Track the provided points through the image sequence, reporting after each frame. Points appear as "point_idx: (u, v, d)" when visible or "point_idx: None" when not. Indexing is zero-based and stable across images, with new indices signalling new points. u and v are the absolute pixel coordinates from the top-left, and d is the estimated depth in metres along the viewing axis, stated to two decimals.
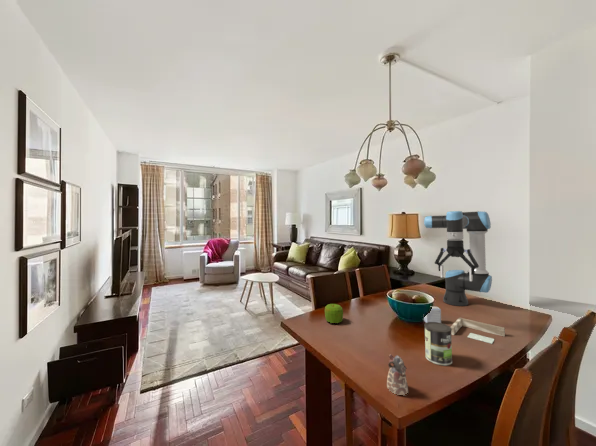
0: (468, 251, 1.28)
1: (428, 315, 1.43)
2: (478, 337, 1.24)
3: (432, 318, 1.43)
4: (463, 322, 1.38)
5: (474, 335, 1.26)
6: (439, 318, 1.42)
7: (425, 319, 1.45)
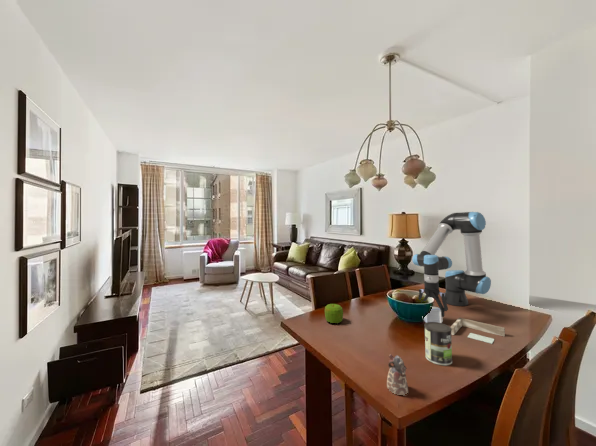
0: (442, 295, 1.40)
1: (428, 315, 1.43)
2: (478, 337, 1.24)
3: (432, 318, 1.43)
4: (463, 322, 1.38)
5: (474, 335, 1.26)
6: (439, 318, 1.42)
7: (425, 319, 1.45)
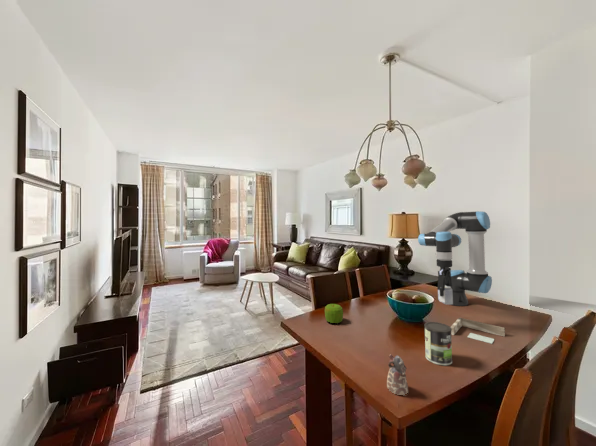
0: None
1: (438, 292, 1.41)
2: (478, 337, 1.24)
3: None
4: (463, 322, 1.38)
5: (474, 335, 1.26)
6: None
7: None
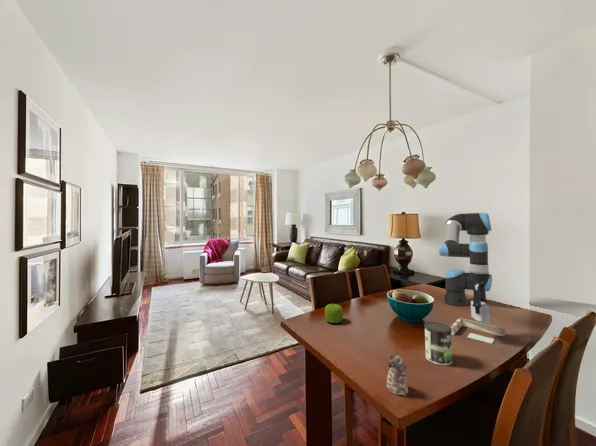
0: None
1: (471, 308, 1.27)
2: (478, 337, 1.24)
3: None
4: (463, 322, 1.38)
5: (474, 335, 1.26)
6: None
7: None
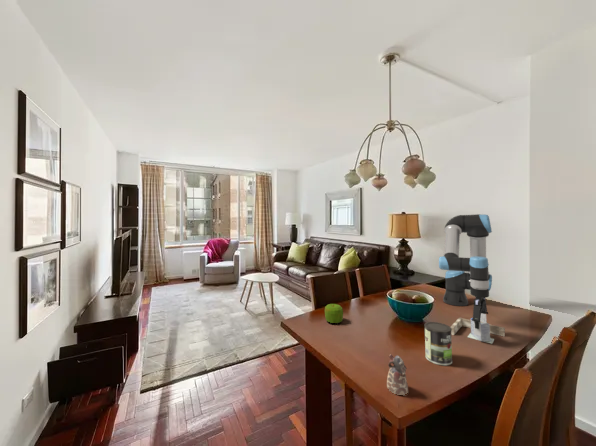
0: None
1: (471, 325, 1.27)
2: None
3: None
4: (463, 322, 1.38)
5: None
6: None
7: None
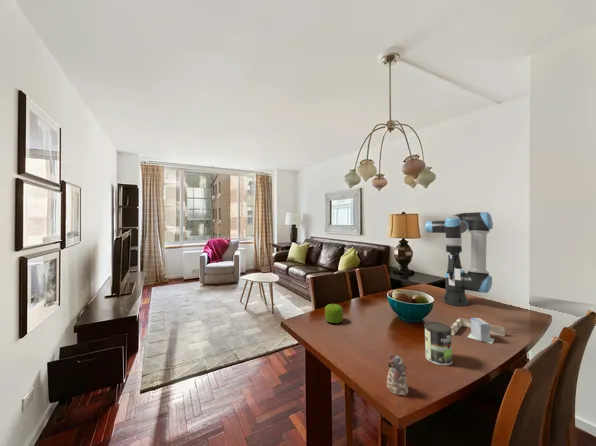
0: None
1: (471, 325, 1.27)
2: None
3: (474, 330, 1.25)
4: (463, 322, 1.38)
5: None
6: (479, 334, 1.21)
7: None
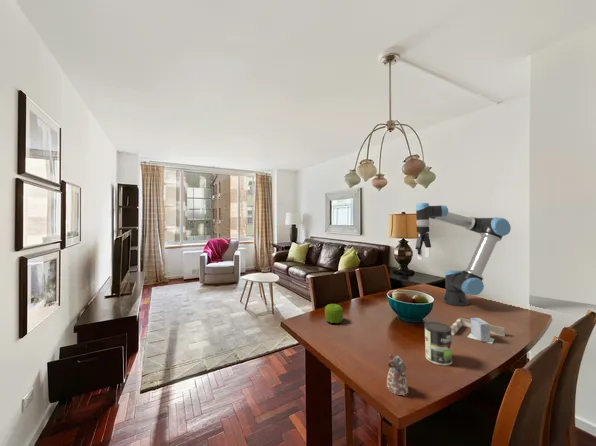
0: None
1: (471, 325, 1.27)
2: None
3: (474, 330, 1.25)
4: (463, 322, 1.38)
5: None
6: (479, 334, 1.21)
7: None
